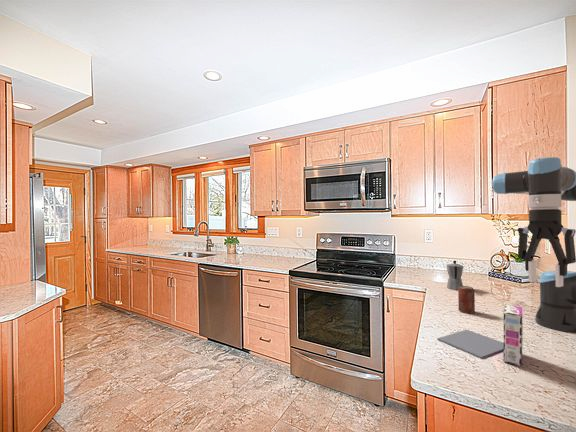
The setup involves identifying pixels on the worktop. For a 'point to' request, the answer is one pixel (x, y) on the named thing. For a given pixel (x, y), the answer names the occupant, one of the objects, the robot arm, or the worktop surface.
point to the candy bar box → (513, 335)
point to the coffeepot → (454, 276)
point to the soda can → (466, 299)
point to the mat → (473, 343)
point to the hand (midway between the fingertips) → (545, 283)
